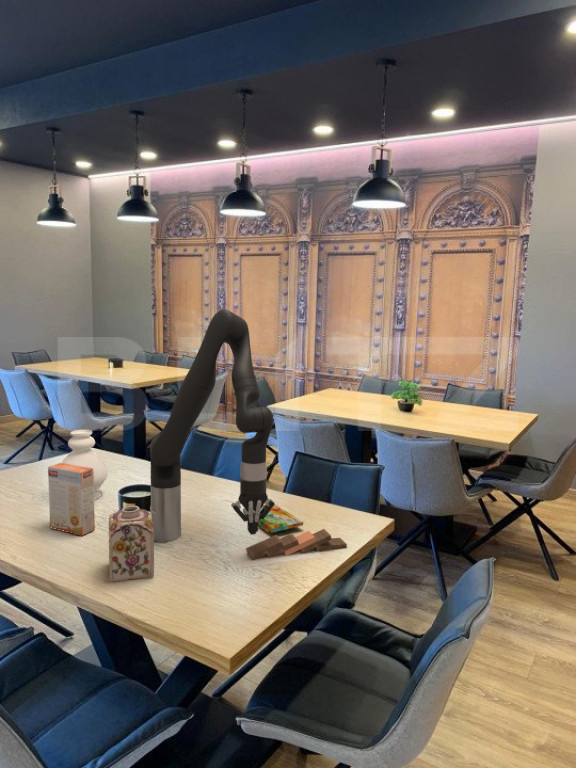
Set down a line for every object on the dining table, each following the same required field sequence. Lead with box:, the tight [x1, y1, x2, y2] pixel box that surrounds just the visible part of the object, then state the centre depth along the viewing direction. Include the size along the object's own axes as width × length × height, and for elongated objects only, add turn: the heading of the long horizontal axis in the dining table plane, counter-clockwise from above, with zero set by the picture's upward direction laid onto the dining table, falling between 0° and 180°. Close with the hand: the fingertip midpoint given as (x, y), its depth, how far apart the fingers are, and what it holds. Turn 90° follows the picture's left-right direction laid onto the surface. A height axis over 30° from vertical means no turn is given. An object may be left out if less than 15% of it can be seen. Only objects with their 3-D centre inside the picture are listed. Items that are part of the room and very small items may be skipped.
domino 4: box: [300, 528, 333, 554], centre depth 171 cm, size 2×5×10 cm
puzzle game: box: [242, 504, 304, 534], centre depth 189 cm, size 12×5×20 cm
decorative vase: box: [61, 429, 109, 501], centre depth 210 cm, size 18×18×25 cm
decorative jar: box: [108, 505, 155, 582], centre depth 154 cm, size 12×12×18 cm
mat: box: [227, 547, 324, 569], centre depth 167 cm, size 26×12×1 cm, turn 109°
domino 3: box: [283, 530, 316, 556], centre depth 169 cm, size 2×5×10 cm
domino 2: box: [266, 532, 299, 558], centre depth 168 cm, size 2×5×10 cm
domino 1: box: [245, 534, 283, 560], centre depth 166 cm, size 2×5×10 cm
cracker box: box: [47, 462, 96, 536], centre depth 181 cm, size 14×6×21 cm, turn 65°
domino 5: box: [313, 537, 348, 553], centre depth 173 cm, size 2×5×10 cm
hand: (252, 533), depth 164 cm, fingers closed
